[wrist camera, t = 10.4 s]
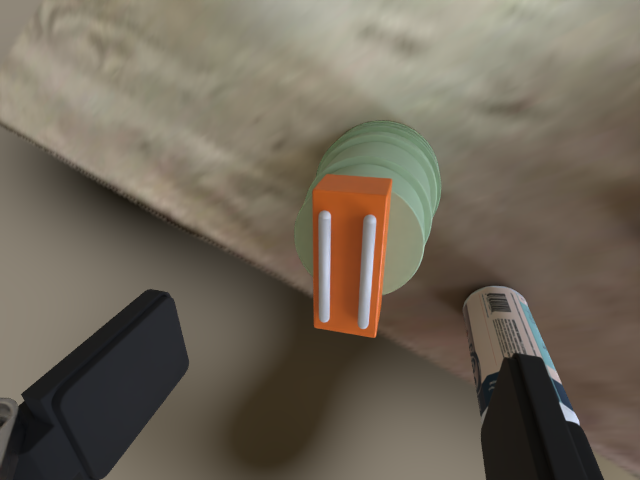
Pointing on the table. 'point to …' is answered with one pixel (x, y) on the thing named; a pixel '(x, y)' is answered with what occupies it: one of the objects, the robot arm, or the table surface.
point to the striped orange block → (349, 252)
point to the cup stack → (406, 195)
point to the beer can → (504, 341)
